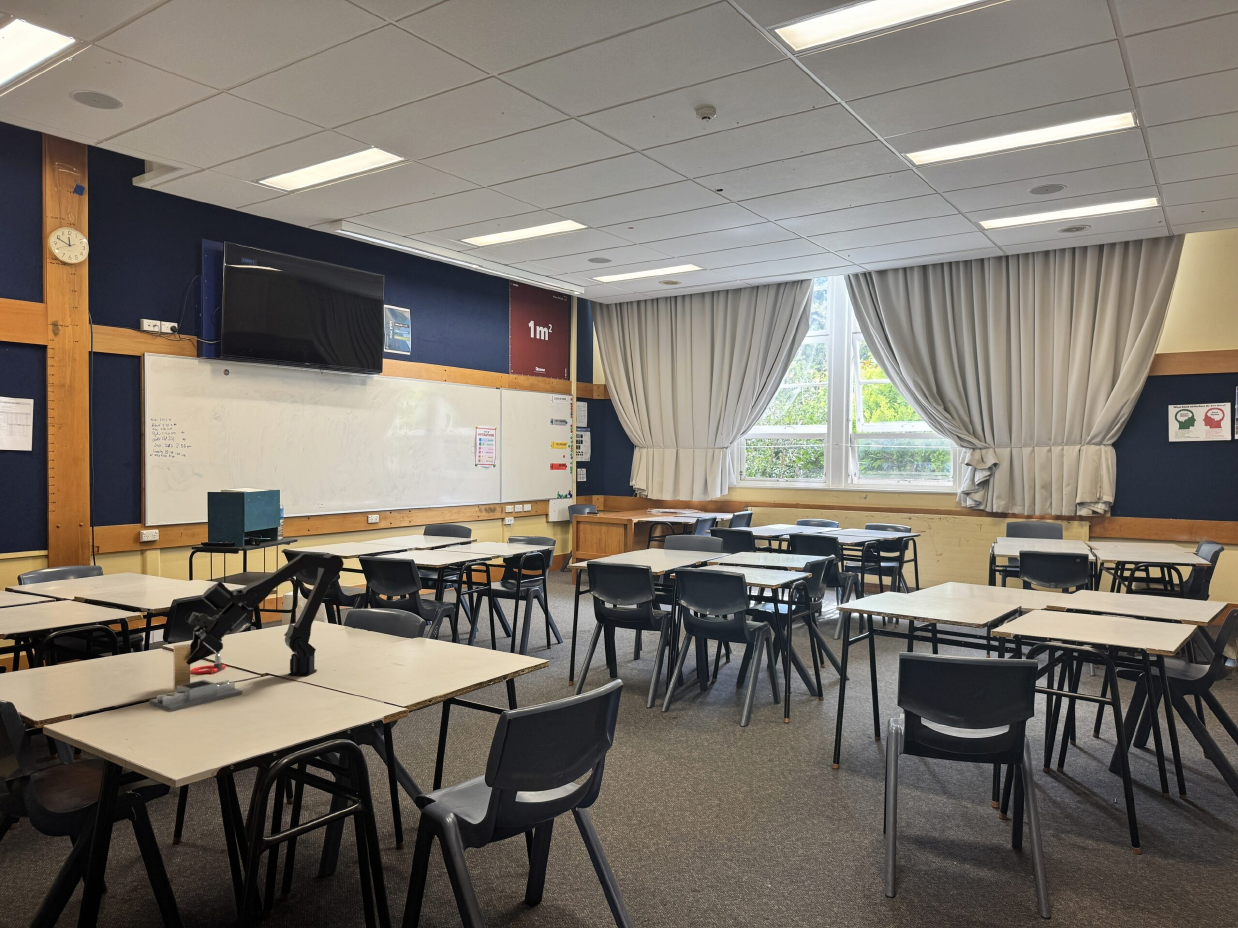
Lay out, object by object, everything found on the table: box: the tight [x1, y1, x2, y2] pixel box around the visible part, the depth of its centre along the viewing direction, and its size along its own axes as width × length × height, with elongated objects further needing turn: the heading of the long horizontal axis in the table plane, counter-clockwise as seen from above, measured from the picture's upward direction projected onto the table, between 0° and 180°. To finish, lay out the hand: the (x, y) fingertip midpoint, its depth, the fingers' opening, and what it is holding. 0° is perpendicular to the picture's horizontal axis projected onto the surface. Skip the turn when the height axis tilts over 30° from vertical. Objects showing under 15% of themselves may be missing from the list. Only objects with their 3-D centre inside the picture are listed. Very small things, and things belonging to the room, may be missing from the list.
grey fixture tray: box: [148, 679, 244, 712], centre depth 223 cm, size 20×12×4 cm, turn 146°
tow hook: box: [190, 651, 227, 675], centre depth 254 cm, size 8×13×9 cm
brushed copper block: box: [172, 643, 191, 692], centre depth 232 cm, size 4×4×13 cm
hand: (185, 660), depth 232 cm, fingers open, 9 cm apart
